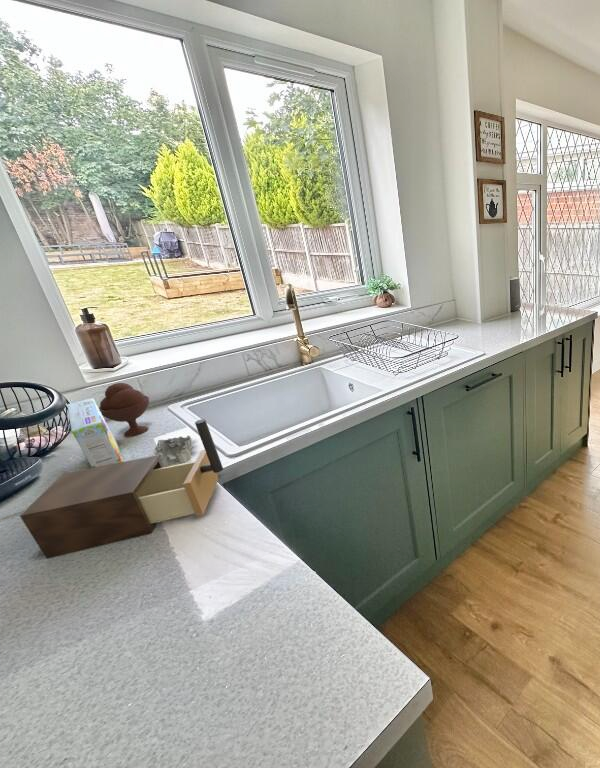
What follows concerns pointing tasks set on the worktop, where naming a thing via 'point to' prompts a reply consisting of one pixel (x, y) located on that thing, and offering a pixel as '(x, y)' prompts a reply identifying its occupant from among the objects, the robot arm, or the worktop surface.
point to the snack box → (93, 433)
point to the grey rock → (174, 450)
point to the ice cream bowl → (125, 406)
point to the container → (182, 484)
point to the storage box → (91, 508)
